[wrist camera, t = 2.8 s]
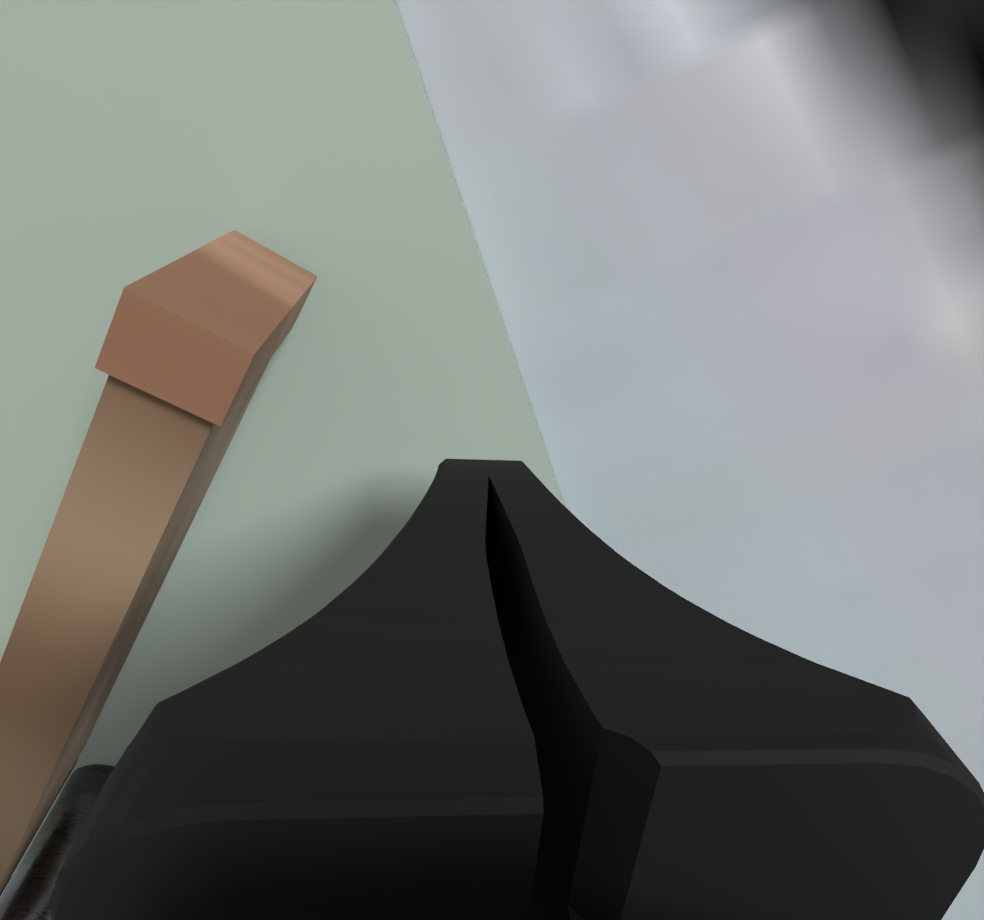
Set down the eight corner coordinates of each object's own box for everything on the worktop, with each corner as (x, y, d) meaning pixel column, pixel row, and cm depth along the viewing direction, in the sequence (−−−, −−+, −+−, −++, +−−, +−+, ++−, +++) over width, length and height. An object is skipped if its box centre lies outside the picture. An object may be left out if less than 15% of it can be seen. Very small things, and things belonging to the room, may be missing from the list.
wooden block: (73, 778, 16) (-36, 972, 12) (10, 760, 15) (-121, 956, 12) (316, 276, 11) (254, 352, 7) (234, 230, 10) (124, 287, 7)
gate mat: (622, 680, 17) (628, 699, 16) (-1, 862, 18) (-14, 885, 18) (183, -631, 7) (162, -692, 7) (-1032, -10, 9) (-1126, -18, 8)
